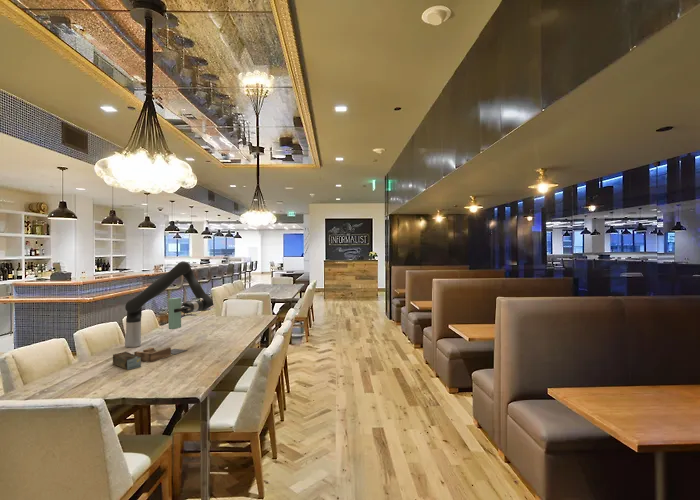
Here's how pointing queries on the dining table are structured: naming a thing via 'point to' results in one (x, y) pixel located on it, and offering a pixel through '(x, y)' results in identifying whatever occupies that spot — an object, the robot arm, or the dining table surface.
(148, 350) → the offcut top
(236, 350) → the dining table surface
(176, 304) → the tall teal pillar
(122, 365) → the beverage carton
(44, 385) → the dining table surface
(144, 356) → the frame
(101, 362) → the dining table surface
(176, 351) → the pad
